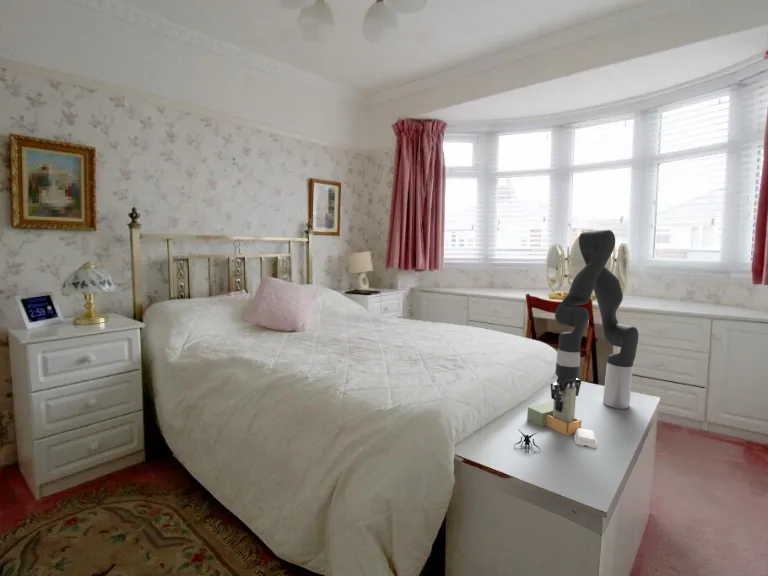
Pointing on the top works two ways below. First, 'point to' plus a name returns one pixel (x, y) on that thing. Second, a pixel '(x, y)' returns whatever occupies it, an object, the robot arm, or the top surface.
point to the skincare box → (566, 406)
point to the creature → (527, 441)
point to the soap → (585, 438)
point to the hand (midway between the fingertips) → (563, 409)
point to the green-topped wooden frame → (551, 419)
